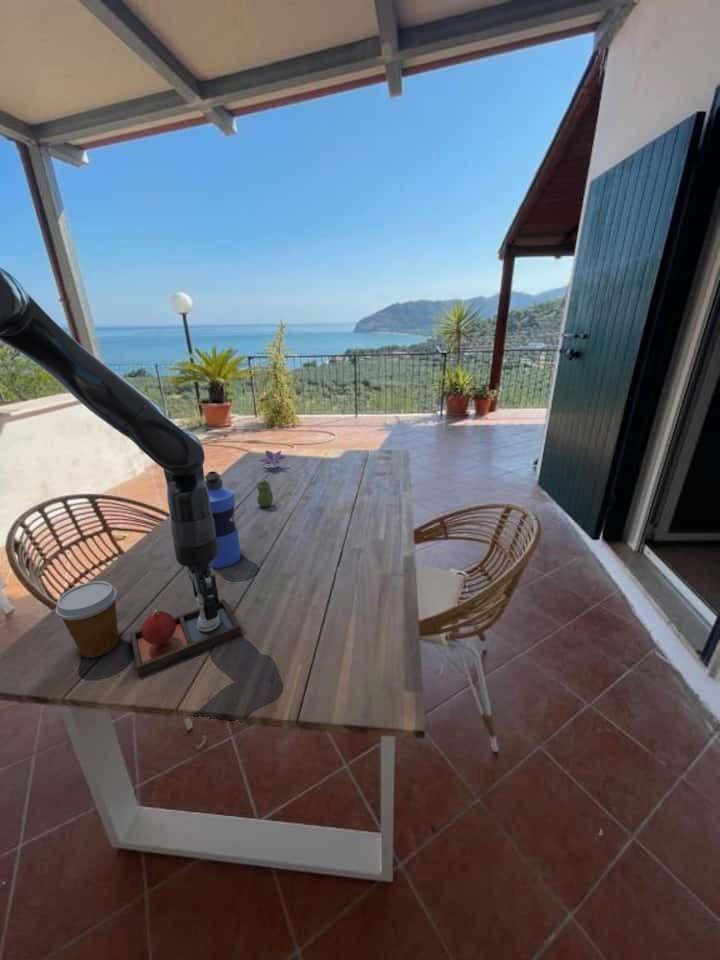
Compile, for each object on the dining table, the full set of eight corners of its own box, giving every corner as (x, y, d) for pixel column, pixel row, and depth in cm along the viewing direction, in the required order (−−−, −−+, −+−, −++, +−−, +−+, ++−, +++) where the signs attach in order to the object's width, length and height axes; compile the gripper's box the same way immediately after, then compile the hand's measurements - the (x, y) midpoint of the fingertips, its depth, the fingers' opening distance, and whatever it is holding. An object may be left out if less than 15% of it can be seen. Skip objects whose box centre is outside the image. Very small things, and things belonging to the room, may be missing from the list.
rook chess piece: (209, 615, 83) (204, 584, 81) (225, 622, 82) (220, 590, 79) (192, 629, 80) (186, 596, 77) (208, 636, 78) (203, 603, 75)
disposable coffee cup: (97, 669, 71) (81, 616, 67) (58, 657, 73) (40, 605, 69) (138, 634, 79) (127, 584, 75) (102, 624, 82) (89, 576, 78)
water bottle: (207, 571, 101) (193, 481, 92) (204, 554, 109) (191, 469, 100) (243, 563, 105) (233, 475, 96) (238, 547, 112) (228, 465, 104)
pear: (267, 510, 136) (265, 483, 133) (254, 508, 138) (252, 481, 135) (276, 504, 141) (274, 478, 138) (263, 502, 143) (261, 476, 140)
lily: (292, 469, 182) (286, 449, 183) (285, 467, 171) (279, 446, 171) (268, 476, 183) (262, 457, 184) (259, 475, 172) (253, 454, 172)
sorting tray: (139, 676, 69) (136, 667, 69) (132, 640, 78) (129, 632, 77) (241, 634, 79) (240, 626, 79) (225, 606, 88) (224, 598, 87)
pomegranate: (139, 646, 75) (131, 612, 72) (168, 629, 80) (161, 596, 77) (156, 659, 72) (148, 624, 69) (184, 641, 77) (178, 607, 74)
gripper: (166, 526, 77) (178, 594, 82) (181, 558, 66) (195, 634, 71) (205, 517, 81) (214, 583, 86) (226, 545, 70) (235, 618, 75)
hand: (205, 606), depth 79 cm, fingers open, 8 cm apart
